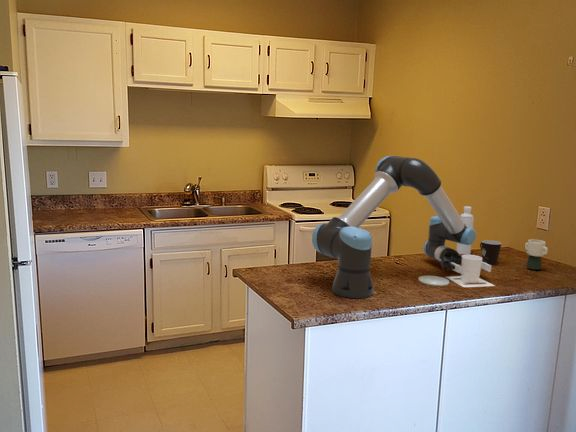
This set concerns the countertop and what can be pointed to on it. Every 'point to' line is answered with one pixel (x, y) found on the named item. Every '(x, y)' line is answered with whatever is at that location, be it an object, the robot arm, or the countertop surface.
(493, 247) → the coffee mug
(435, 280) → the coaster
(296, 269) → the countertop surface
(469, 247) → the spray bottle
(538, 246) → the character mug
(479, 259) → the white cup
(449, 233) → the robot arm
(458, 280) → the white square tray
